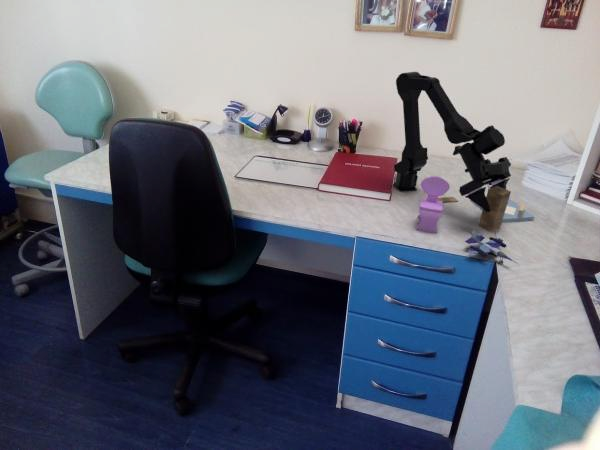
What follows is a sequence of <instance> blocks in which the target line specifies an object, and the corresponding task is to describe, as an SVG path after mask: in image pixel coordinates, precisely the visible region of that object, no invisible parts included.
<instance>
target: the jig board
mask: <svg viewBox="0 0 600 450" xmlns="http://www.w3.org/2000/svg"><path fill="white" fill-rule="evenodd" d="M469 200H470V199H469ZM470 202H471V203H473V204H474V205H475V206H476V207H477V208H479V209H480V210H481V211H482V210H483V209H482V208H481V207H480V206H479V205H477V204H476V203H475V202H473V201H472V200H470ZM525 207H526V202H524V201H522V202H521V203H520V205H519V204H517V203H516V202H515V201H514V200H512V199H511V198H509V200H508V204H507V206H506V210H505V213H504V216H503V220H502V223H512V222H513V223H514V222H515V223H516V222H527V221H534V219H535V216H534V215H533V214H531V213H529V212H528V211H527V210H526V209H525ZM502 223H501V224H502Z"/></svg>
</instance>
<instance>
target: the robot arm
mask: <svg viewBox="0 0 600 450" xmlns="http://www.w3.org/2000/svg"><path fill="white" fill-rule="evenodd" d="M395 84H396V90H397V94H398V96H399V98H400V100H401V101H402V107H403V108H402V110H403V124H404V140H405V141H404V142H405V144H404V147H403V150H402V152H401V160H400V161H399V162H397V163H396V164H394V165H393V169H394V172H395V173H396V178H395V182H394V184H393V185H394V186H395V188H396V189H397V190H398V191H400V192H407V191H417V182H418V178H419V177H418V172H420V171H421V170H422V169H423V168H424V167H425V166H426V165H427V164H428V163H427V162H428V160H429V156H428V147H424V146H423V144H422V143H421V132H420V131H421V130H420V111H419V109H420V108H419V107H420V106H419V99H420V95H421V93H422V92H424V93H425V94H426V95H427V97H428V99H429V100H430V102H431V104H432V105H433V107H434V108H435V111H437V114H438V115H439V117H440V118H441V120H442V123H443V129H444V130H443V131H444V133H445V136H446V138H447V140H448V142H449V143H450V144H454V145H455V147H454V151H453V153H452V155H453V156H457V155H460V157H461V159H462V162H463V163H464V165H465V169H464V172H465V173H469V175H470V178H471V179H472V180H470V181H469V182H466V183H465V184H462V185H461V186H459V190H458V191H459V193H460V196H461V197H465V199H466V198H468V199H469V200H472V201H473V202H475V203H476V204H477V205H479V206H480V207H481V208H482V209H484V210H485V211H486V212H490V211H491V209H490V206H489V204H488V201H487V199H486V196H487V195H486V193H485V192H486V188H487V187H486V185H489V186H490V187H489V188H488V189H490V188H493V187H495V186H499V187H501V188H504V189H506V190H507V185H508V182H509V181H510V179H511V178H510V177H512V175H511V173H510V167H511V165H512V163H511V162H510V160H509V159H508V157H507V156H503V157H500V158H498V161H496V162H492V161H491V160H490V159H489V158H485V157H484V156H485V155H488V154H491V153H492V152H495V150H498V149H499V148H501V147H503V146H504V145H505V143H506V139H505V136H504V134H503V133H502V132H501V131H499V130H498V129H497V128H495V127H494V125H493V124H492V125H488V126H487V127H485V128H484V129H483V130H482V131H481V130H478V129H477V128H475V127H474V126H473V125H472V124H471V123H470V122H469V120H468V119H467V118H465V117H464V116H463V115H461V114H460V113H459V112H458V111H457V109H456V107H455V106H454V105H453V103H452V101H451V99H450V98H449V96H448V95H447V93H446V92H445V90H444V88H443V87H442V85H441V82H440V80H439V78H437V77H431V76H429V75H424V74H421V73H419V72H418V71H409V72H408V71H407V72H402V73H400V74H399V75H398V76H397V78H396V79H395ZM463 143H464V144H463ZM458 144H459V145H458ZM460 144H462V145H460ZM472 201H471V202H472ZM473 202H472V203H473ZM507 204H508V203H507Z"/></svg>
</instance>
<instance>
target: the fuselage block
mask: <svg viewBox="0 0 600 450" xmlns="http://www.w3.org/2000/svg"><path fill="white" fill-rule="evenodd" d="M511 192H512V191H511V190H510V189H509V190H508V189H507V188H506V189H504V188H501V187H499V186H495V187H493V188H488V189H487V193H486V195H485V196H486V199H487V201H488V204H489V206H490V209H491V211H490V212H486V211H485V210H484V209H483V210H481V214H480V218H479V221H478V222H479V223H478V226H477V227H480V228H482V229H483V230H486V231H487V232H490V233H494V232H495V231H498V230H500V228H501V227H502V220H503V216H504V213H505V210H506V206H507V203H508V200H509V199H510V196H511Z"/></svg>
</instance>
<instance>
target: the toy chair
mask: <svg viewBox="0 0 600 450" xmlns="http://www.w3.org/2000/svg"><path fill="white" fill-rule="evenodd" d="M450 187H451V186H450V184H449V182H448V181H447V180H446V179H444V178H443V177H440V176H435V175H433V176H429V177H425V178H424V179H422V180H421V182H420V188H421V190H422V191H423V193H425V194H426V195H427V198H422V197H421V198H420V204H419V211H418V212H419V214H418V216H417V218H419V219H420V221H419V224H418V225H417V227H416V228H415V230H419V231H423V232H429V233H435V234H438V229H437V223H438V221H439V220H440V218H441V217H442V215H443V214H442V213H443V205H444V203H443V201H437V198H439V197H441V196H444V195H445V194H446V193H447V192H448V191H449V190H450Z"/></svg>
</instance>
